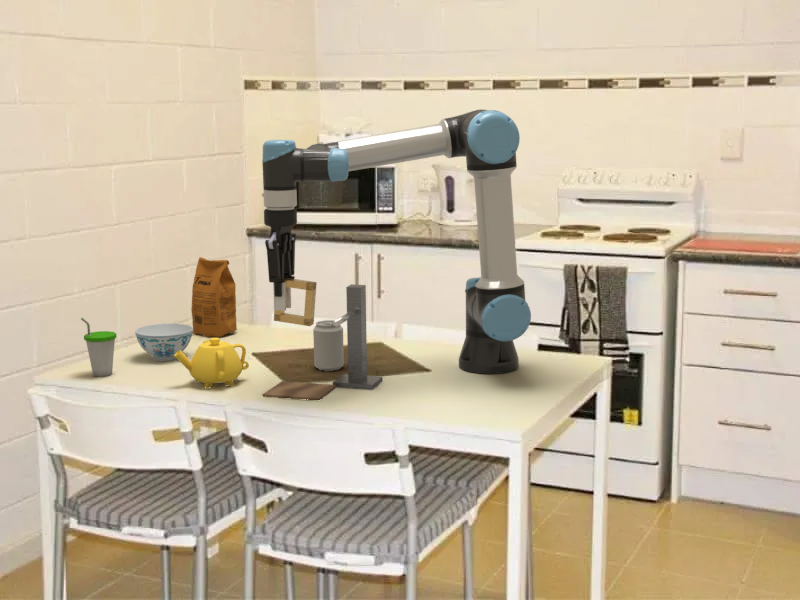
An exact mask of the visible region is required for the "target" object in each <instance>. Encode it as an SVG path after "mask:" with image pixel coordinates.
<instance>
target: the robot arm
mask: <svg viewBox="0 0 800 600" xmlns="http://www.w3.org/2000/svg"><path fill="white" fill-rule="evenodd" d="M520 140H521V139H520V132H519V128H518V126H517V124H516V123H515V121H514V120H513V119H512V118H511V117H510V116H508V115H507V114H506V113H505V112H502V111H499V110H493V109H489V110H488V109H476V110H472V111H469V112H466V113H463V114H459V115H455V116H451V117H447V118H441V120H440V122H439V123H436V124H430V125H426V126H424V125H423V126H419V127H413V128H407V129H402V130H396V131H391V132H385V133H378V134H374V135H373V134H372V135H367V136H361V137H355V138H351V139H349V138H348V139H345V140H338V141H333V142H326V143H322V144H321V143H314V144H311V145H310V146H308V147H307V148H297V146H296V142H295V140H293V139H269V140H266V141H264V142H263V144H262V160H261V161H262V163H261V165H262V186H263V193H262V194H261V196H262V197H263V206H264V207H265V209H264V210H263V222H264V223H263V224H264V225H265V226H267V227H270V231H269V232H270V233H269V239H265V241H264V244H265V248H266V257H267V271H268V282H269V283H273V284H272V285H273V286H272V287H273V311H274V310H282V311H287V309H291V308H292V288H290V287H286V282H284V278H291V279H296V277H295V267H296V265H295V263H296V261H295V259H296V240H297V233H296V232H295V233H294V232H293V233H292V228H291V227H293V226H296V225H297V223H298V210H297V208H295V207H297V205H298V198H297V182H300V183H301V182H332V183H334V182H339V181H341V182H343V181H346V180H347V179H348V177H349V172H352V171H359V170H364V169H370V168H375V167H376V168H377V167H381V166H387V165H394V164H398V163H399V164H400V163H405V162H410V161H411V162H412V161H418V160H423V159H428V158H433V157H434V158H435V157H438V156H445V157H446V158H447V159H453V158H459V157H465V160H466V171H467V172H468V173H469V174H470V175H471V176H472V177H473V180H474V194H475V206H476V207H475V208H476V209H475V210H476V222H477V236H478V237H477V238H478V247H479V248H478V249H479V262H480V263H479V264H480V265H479V266H480V277H471V278H468V279H467V280H466V282H465V289H464V292H465V338H464V341H463V344H462V347H461V350H460V353H459V357H458V367H459V368H460V369H461V370H463V371H465V372H470V373H476V374H489V375H490V374H504V373H509V372H514V371H516V370H518V368H519V367H520V366H519V361H520V359H519V355H518V351H517V349H516V346H515V343H514V340H517V339H518V338H520V337H521V336H523V335H524V334H525V332H526V331H527V330H528V329H529V326H530V324H531V319H532V313H531V312H532V311H531V308H530V306H529V303H528V302H527V300H526V291H525V290H526V287H525V281H524V279H522V278H521V276H519V275H518V268H517V252H516V237H515V236H516V235H515V221H514V220H515V219H514V206H513V203H514V202H513V188H512V175H513V172H514V171H515V170H516V169H517V167H518V166H517V151H518V148H519V147H520V145H519V144H520Z"/></svg>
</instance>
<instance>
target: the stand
mask: <svg viewBox="0 0 800 600" xmlns="http://www.w3.org/2000/svg"><path fill="white" fill-rule="evenodd" d="M366 286H367V285H366V284H353V283H352V284H350V285H347V286H346V287H345V288H346V313H345V314H343V315H342V316H340V317H339V318H337V319H335V321H334V322H332V324H331V325H332V327H333V328H336V327H337V326H339V325H342V324H344V323H346V331H347V332H346V334H347V338H346V339H347V340H346V341H347V373H343V374H341V375H340V376H339V377H338V378H335V380H334V381H332V385H337V387H336V388H339V389H355V390H369V391H371V390H372V391H373V390H374V389H376V388H377V387H378V386H379V385H380V384H382V382H383V379H384V378H383V375H382V376H379V375H368V353H367V352H368V348H367V346H368V345H367V343H368V339H367V293H366V292H367V291H366V290H367V288H366Z"/></svg>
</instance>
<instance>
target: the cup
mask: <svg viewBox="0 0 800 600" xmlns="http://www.w3.org/2000/svg"><path fill="white" fill-rule="evenodd" d="M80 320H81V321H82V322H84V323H85V324H86V327H87V328H86V330H87V333H85V334H84V335H83V340H84V341H85V343H86V347H87V353H88V356H89V362H90V367H91V371H92V375H93V377H95V378H106V377H109V376H112V375H113V368H114V366H113V365H114V352H115V341H116V338H117V333H116V332H114V331H108V330H105V331H104V330H103V331H93V332H91V328H90V327H91V325H90V323H89V322H88V321H87V320H86V319H85V318H84V317H81V318H80Z"/></svg>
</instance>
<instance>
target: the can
mask: <svg viewBox="0 0 800 600" xmlns="http://www.w3.org/2000/svg"><path fill="white" fill-rule="evenodd" d="M335 320H336V319H335ZM335 320H334V319H329V320H328V319H327V320H325V319H324V320H319V321H316V322H315V326H314V327H313V329H312V331H313V361H314V362H313V365H314V367H315V368H316V369H317V368H318V369H319V370H318V369H317V370H318V371H322V370H324V371H323V372H332V371H334V370H335V371H338V370H341V368H342V367H344V364H345V363H344V362H345V358H344V357H345V356H344V355H345V354H344V327H343V326H342V324H340V325H339V326H337V327H336V328H333V327H332V325H331V324H332V322H334V321H335Z"/></svg>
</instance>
